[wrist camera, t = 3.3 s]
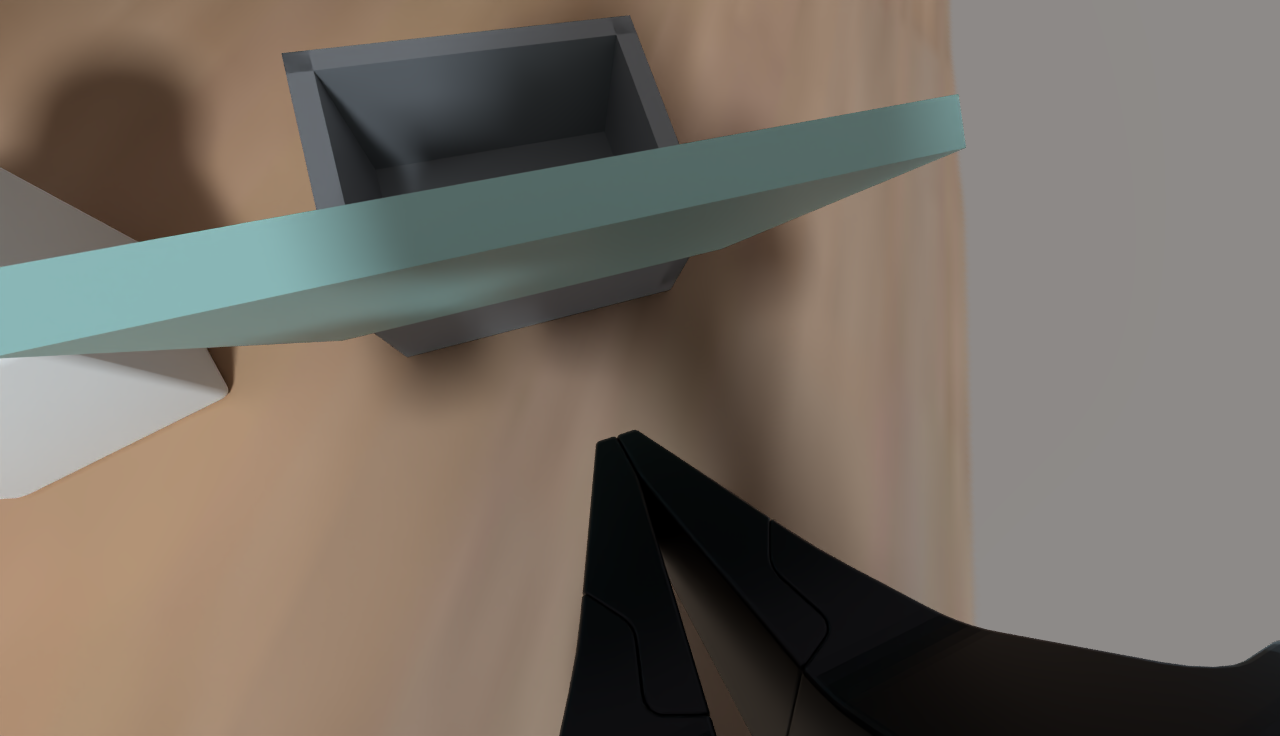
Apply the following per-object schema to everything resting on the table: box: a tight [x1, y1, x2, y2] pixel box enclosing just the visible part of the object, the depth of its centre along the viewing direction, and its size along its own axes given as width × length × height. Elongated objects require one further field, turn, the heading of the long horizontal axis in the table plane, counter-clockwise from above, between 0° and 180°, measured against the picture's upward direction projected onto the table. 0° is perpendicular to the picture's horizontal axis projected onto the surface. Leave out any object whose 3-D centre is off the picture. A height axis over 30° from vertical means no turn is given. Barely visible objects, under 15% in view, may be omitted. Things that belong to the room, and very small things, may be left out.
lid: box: [0, 94, 966, 358], centre depth 10 cm, size 9×12×1 cm
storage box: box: [282, 15, 689, 357], centre depth 18 cm, size 9×12×6 cm
